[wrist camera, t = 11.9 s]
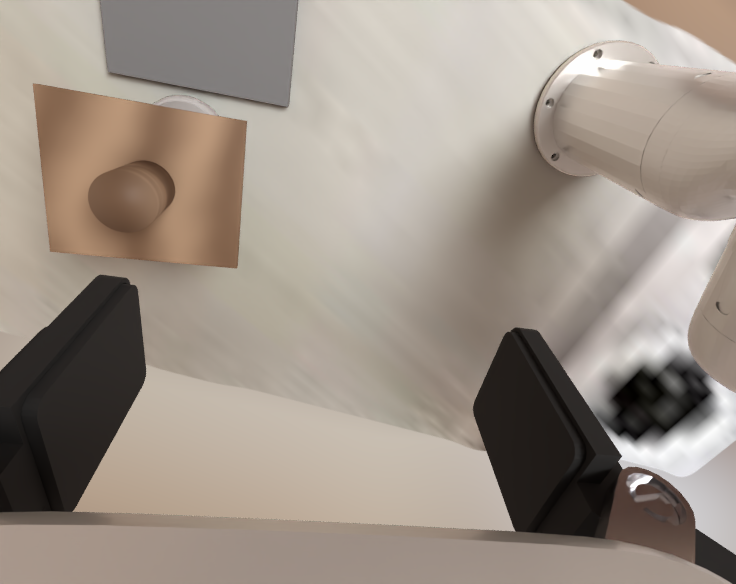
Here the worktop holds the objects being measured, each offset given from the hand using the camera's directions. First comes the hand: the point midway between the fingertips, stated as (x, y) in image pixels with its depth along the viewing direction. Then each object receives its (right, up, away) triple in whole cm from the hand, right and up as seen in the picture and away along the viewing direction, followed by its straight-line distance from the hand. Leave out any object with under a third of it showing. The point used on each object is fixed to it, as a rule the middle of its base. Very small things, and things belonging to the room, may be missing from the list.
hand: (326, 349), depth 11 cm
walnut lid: (-16, +10, +22) cm, 29 cm away
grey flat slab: (-13, +26, +26) cm, 39 cm away
